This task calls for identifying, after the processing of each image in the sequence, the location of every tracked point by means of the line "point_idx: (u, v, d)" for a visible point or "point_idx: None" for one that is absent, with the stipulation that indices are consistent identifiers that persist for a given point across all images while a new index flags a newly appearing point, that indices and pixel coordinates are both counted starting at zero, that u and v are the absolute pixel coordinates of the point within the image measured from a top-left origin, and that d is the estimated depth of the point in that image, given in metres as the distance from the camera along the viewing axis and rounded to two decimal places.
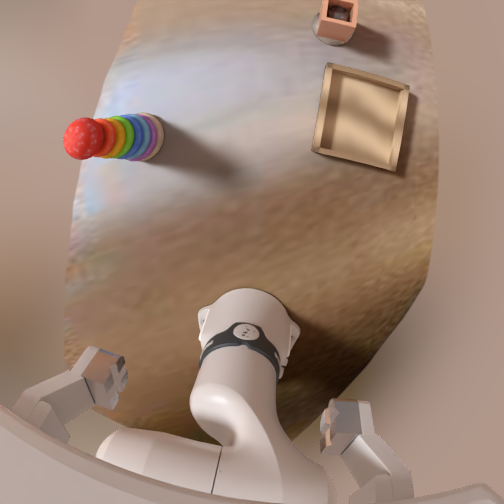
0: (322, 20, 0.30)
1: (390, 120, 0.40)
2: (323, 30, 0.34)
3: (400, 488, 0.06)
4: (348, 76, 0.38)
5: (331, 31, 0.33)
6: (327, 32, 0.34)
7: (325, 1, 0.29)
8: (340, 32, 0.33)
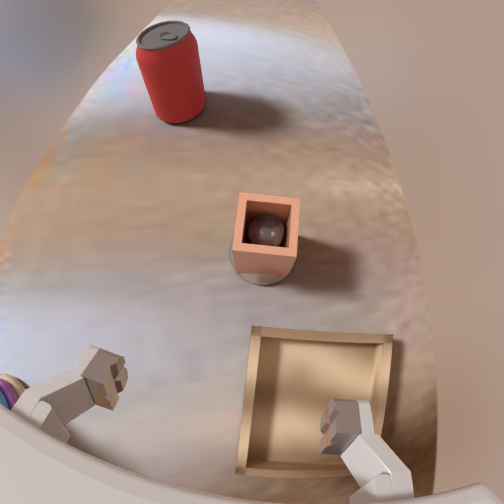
0: (234, 251, 0.22)
1: (362, 396, 0.25)
2: (243, 265, 0.26)
3: (400, 488, 0.06)
4: (290, 340, 0.27)
5: (256, 266, 0.26)
6: (250, 267, 0.26)
7: (240, 209, 0.23)
8: (272, 266, 0.25)
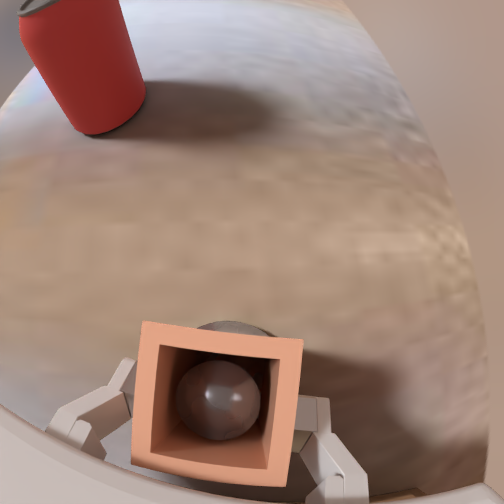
0: None
1: None
2: None
3: (353, 492, 0.06)
4: None
5: None
6: None
7: (144, 368, 0.08)
8: None
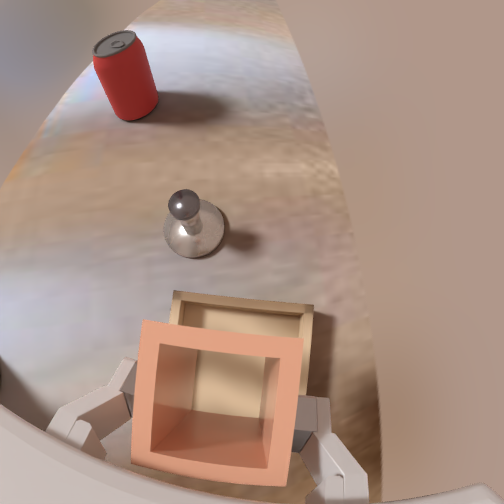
0: None
1: None
2: None
3: (353, 492, 0.06)
4: (213, 308, 0.29)
5: None
6: None
7: (144, 367, 0.08)
8: None
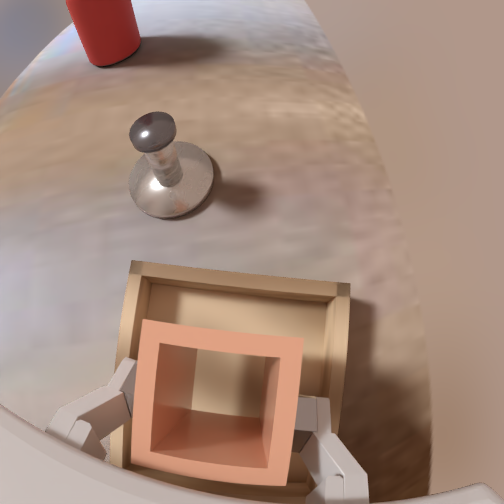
0: None
1: (307, 385, 0.17)
2: None
3: (353, 492, 0.06)
4: (193, 290, 0.19)
5: None
6: None
7: (144, 367, 0.08)
8: None
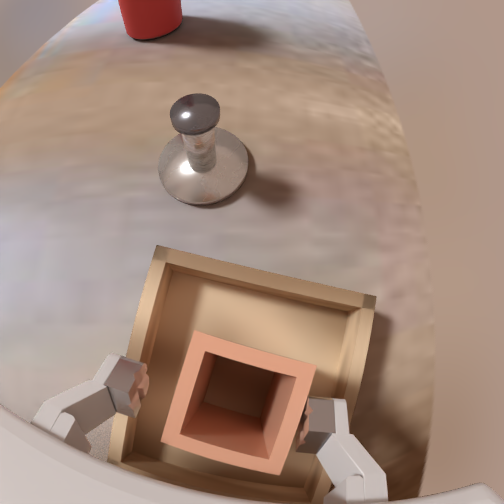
0: None
1: (319, 392, 0.17)
2: None
3: (373, 491, 0.06)
4: (216, 283, 0.18)
5: None
6: None
7: (188, 368, 0.10)
8: None
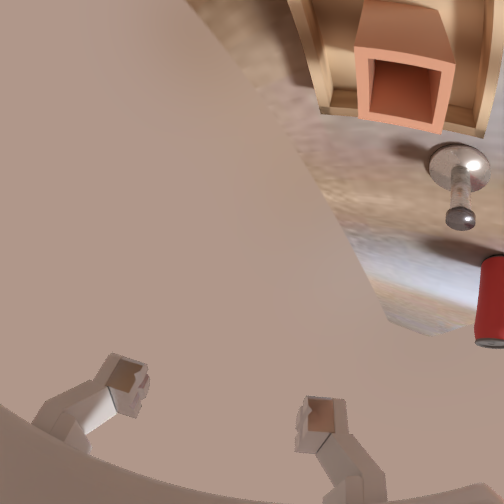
0: (451, 60, 0.09)
1: (332, 34, 0.16)
2: (431, 25, 0.10)
3: (372, 491, 0.06)
4: None
5: (411, 22, 0.11)
6: (419, 19, 0.11)
7: (441, 114, 0.12)
8: (388, 22, 0.11)
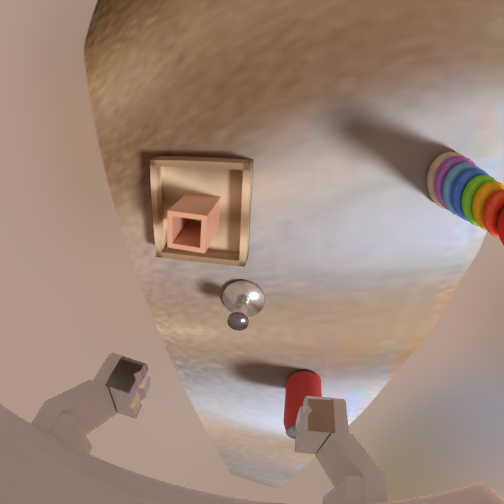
0: (206, 215, 0.33)
1: None
2: (209, 203, 0.36)
3: (372, 491, 0.06)
4: (221, 250, 0.42)
5: (200, 202, 0.36)
6: (205, 201, 0.37)
7: (203, 242, 0.34)
8: (189, 202, 0.36)
